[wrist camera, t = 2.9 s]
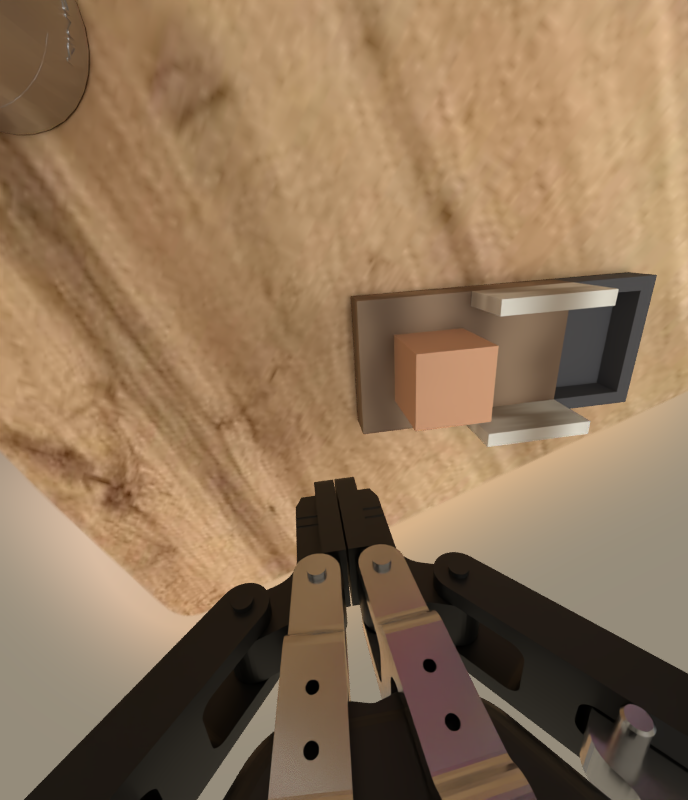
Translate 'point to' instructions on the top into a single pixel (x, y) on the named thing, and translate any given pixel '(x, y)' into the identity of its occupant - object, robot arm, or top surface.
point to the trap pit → (603, 342)
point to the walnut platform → (492, 320)
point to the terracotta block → (444, 378)
